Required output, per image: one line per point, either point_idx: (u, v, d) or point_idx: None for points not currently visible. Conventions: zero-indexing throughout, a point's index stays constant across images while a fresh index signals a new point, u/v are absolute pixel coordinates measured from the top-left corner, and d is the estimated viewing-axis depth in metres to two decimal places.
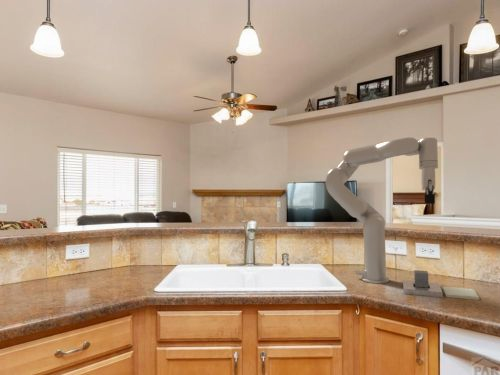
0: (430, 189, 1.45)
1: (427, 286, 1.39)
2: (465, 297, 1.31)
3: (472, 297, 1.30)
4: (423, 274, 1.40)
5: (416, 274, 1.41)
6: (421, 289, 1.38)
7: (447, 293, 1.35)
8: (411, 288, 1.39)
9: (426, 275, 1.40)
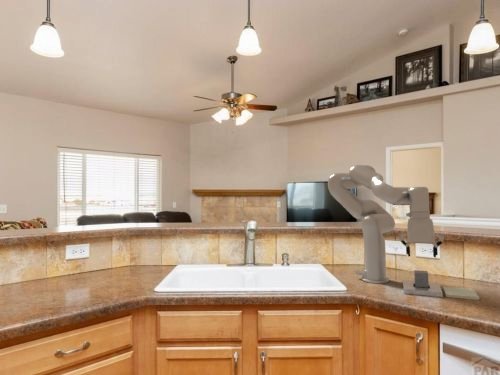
0: (441, 242, 1.39)
1: (427, 286, 1.39)
2: (465, 297, 1.31)
3: (472, 297, 1.30)
4: (423, 274, 1.40)
5: (416, 274, 1.41)
6: (421, 289, 1.38)
7: (447, 293, 1.35)
8: (411, 288, 1.39)
9: (426, 275, 1.40)
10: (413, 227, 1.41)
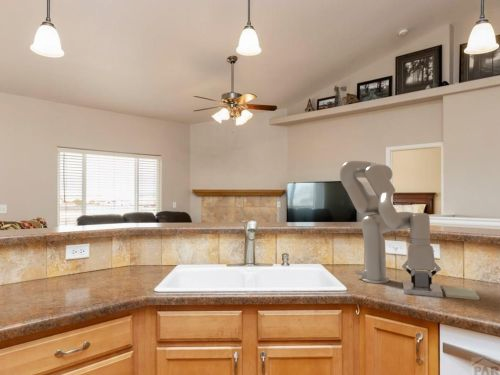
0: None
1: (427, 286, 1.39)
2: (465, 297, 1.31)
3: (472, 297, 1.30)
4: (423, 274, 1.40)
5: (416, 274, 1.41)
6: (421, 289, 1.38)
7: (447, 293, 1.35)
8: (411, 288, 1.39)
9: (426, 275, 1.40)
10: (413, 253, 1.41)
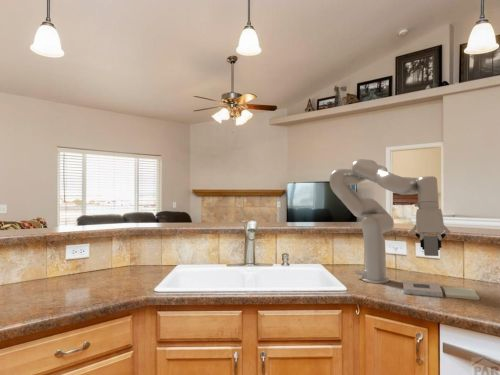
0: (445, 234, 1.39)
1: (437, 249, 1.38)
2: (465, 297, 1.31)
3: (472, 297, 1.30)
4: (432, 237, 1.39)
5: (425, 237, 1.40)
6: (421, 289, 1.38)
7: (447, 293, 1.35)
8: (411, 288, 1.39)
9: (435, 238, 1.38)
10: (421, 217, 1.40)
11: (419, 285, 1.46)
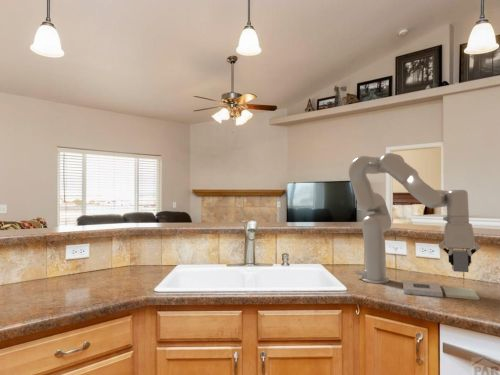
0: None
1: (467, 265, 1.34)
2: (465, 297, 1.31)
3: (472, 297, 1.30)
4: (462, 252, 1.34)
5: (455, 253, 1.35)
6: (421, 289, 1.38)
7: (447, 293, 1.35)
8: (411, 288, 1.39)
9: (465, 253, 1.34)
10: (451, 231, 1.36)
11: (419, 285, 1.46)
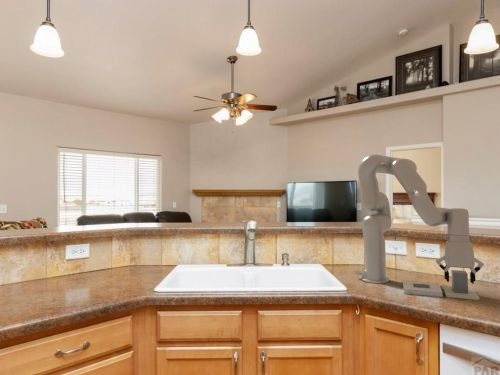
0: None
1: (466, 287, 1.34)
2: (465, 297, 1.31)
3: (472, 297, 1.30)
4: (462, 274, 1.34)
5: (454, 274, 1.36)
6: (421, 289, 1.38)
7: (447, 293, 1.35)
8: (411, 288, 1.39)
9: (465, 275, 1.34)
10: (451, 250, 1.36)
11: (419, 285, 1.46)
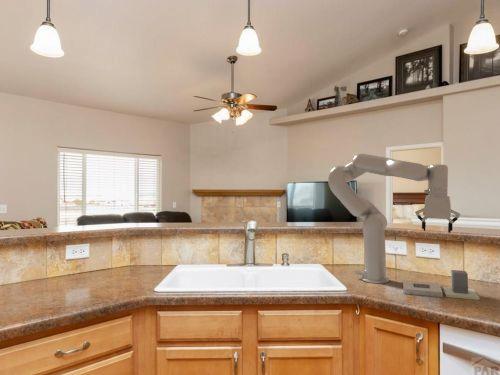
0: (457, 218, 1.45)
1: (466, 287, 1.34)
2: (465, 297, 1.31)
3: (472, 297, 1.30)
4: (462, 274, 1.34)
5: (454, 274, 1.36)
6: (421, 289, 1.38)
7: (447, 293, 1.35)
8: (411, 288, 1.39)
9: (465, 275, 1.34)
10: (430, 202, 1.47)
11: (419, 285, 1.46)
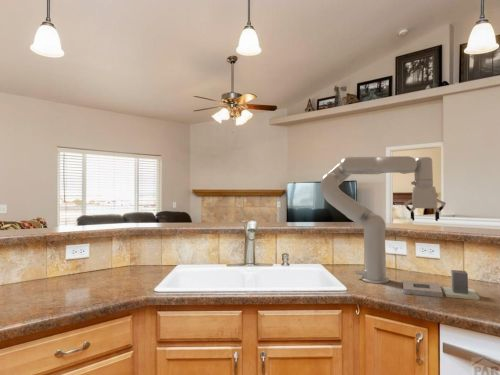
0: None
1: (466, 287, 1.34)
2: (465, 297, 1.31)
3: (472, 297, 1.30)
4: (462, 274, 1.34)
5: (454, 274, 1.36)
6: (421, 289, 1.38)
7: (447, 293, 1.35)
8: (411, 288, 1.39)
9: (465, 275, 1.34)
10: (417, 193, 1.55)
11: (419, 285, 1.46)
